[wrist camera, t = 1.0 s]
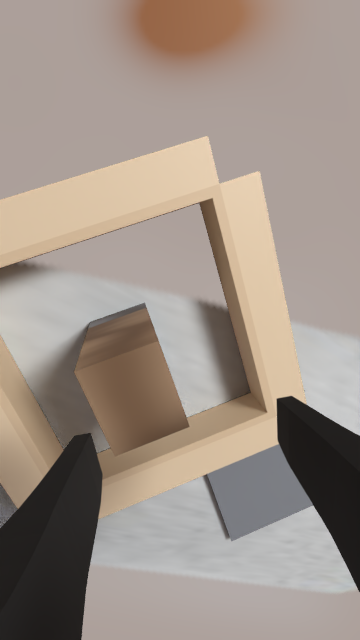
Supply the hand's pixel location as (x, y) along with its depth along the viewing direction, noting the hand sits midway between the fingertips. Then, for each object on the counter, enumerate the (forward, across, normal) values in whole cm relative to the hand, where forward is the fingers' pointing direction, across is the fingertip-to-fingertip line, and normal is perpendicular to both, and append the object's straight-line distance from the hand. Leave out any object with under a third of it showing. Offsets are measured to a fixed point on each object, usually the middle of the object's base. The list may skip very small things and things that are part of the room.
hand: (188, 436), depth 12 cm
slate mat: (+11, -7, +16) cm, 21 cm away
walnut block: (+11, +3, 0) cm, 11 cm away
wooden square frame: (+11, +3, 0) cm, 11 cm away
